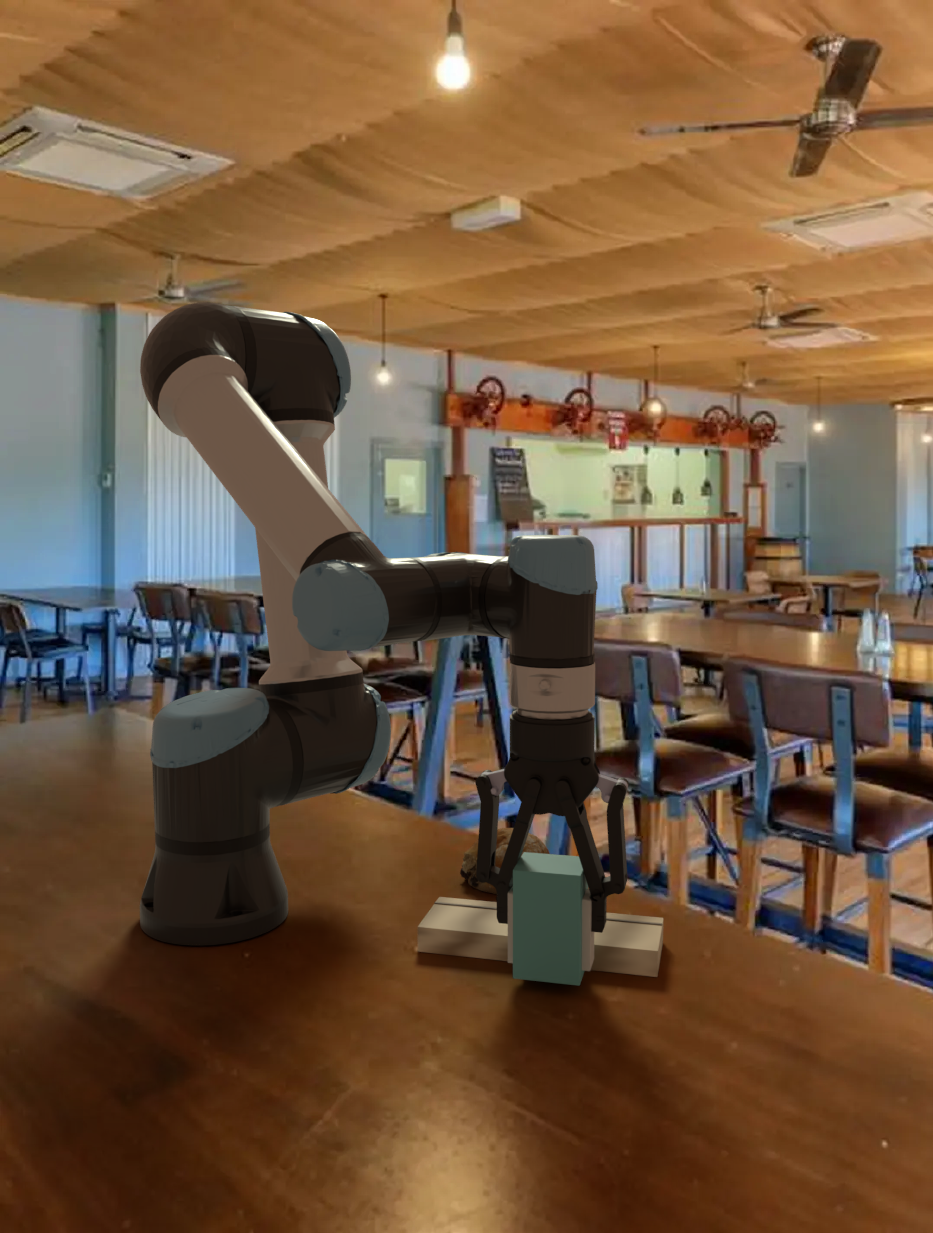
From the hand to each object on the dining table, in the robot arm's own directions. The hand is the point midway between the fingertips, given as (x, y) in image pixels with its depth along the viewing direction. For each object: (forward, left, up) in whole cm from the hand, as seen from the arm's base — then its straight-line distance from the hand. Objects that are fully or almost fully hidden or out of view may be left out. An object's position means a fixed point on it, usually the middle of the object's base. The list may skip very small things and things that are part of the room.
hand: (551, 960), depth 98 cm
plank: (-2, +8, -2) cm, 8 cm away
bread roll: (-9, +24, -3) cm, 26 cm away
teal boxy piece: (0, +4, -1) cm, 4 cm away
